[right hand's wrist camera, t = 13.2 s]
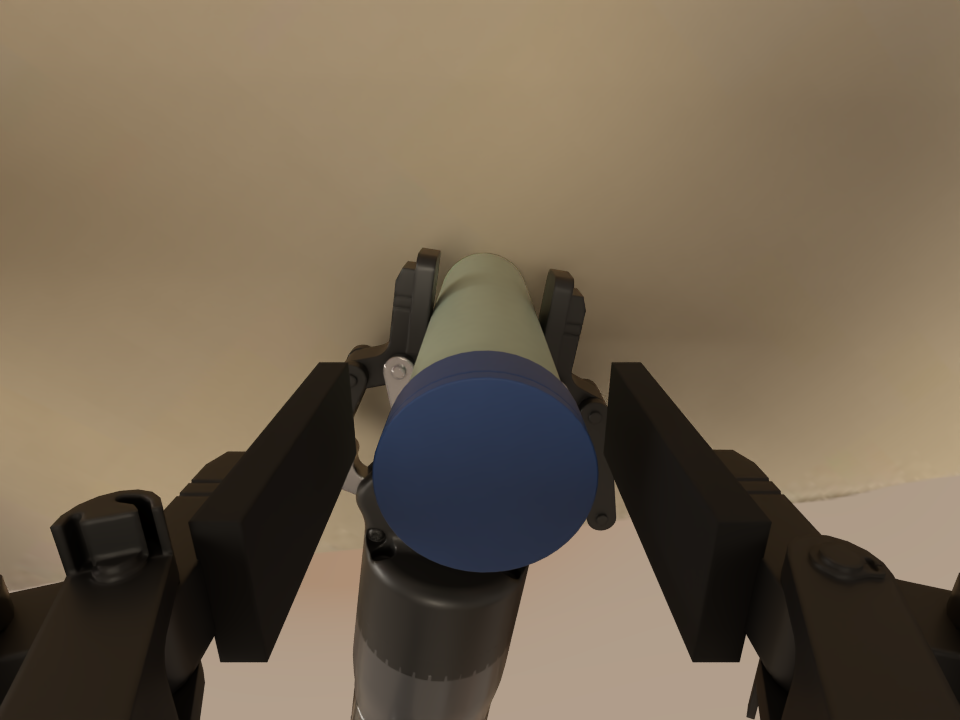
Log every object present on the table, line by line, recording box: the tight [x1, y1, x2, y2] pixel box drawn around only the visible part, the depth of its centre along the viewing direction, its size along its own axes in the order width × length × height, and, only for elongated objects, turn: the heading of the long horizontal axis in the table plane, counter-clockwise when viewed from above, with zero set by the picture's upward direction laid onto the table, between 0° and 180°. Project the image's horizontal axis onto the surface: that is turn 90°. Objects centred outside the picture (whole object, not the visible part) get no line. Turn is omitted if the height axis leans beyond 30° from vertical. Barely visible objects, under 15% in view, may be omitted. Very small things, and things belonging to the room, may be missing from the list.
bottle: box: [409, 253, 560, 381], centre depth 19 cm, size 4×4×16 cm
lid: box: [372, 350, 599, 572], centre depth 12 cm, size 5×5×2 cm
